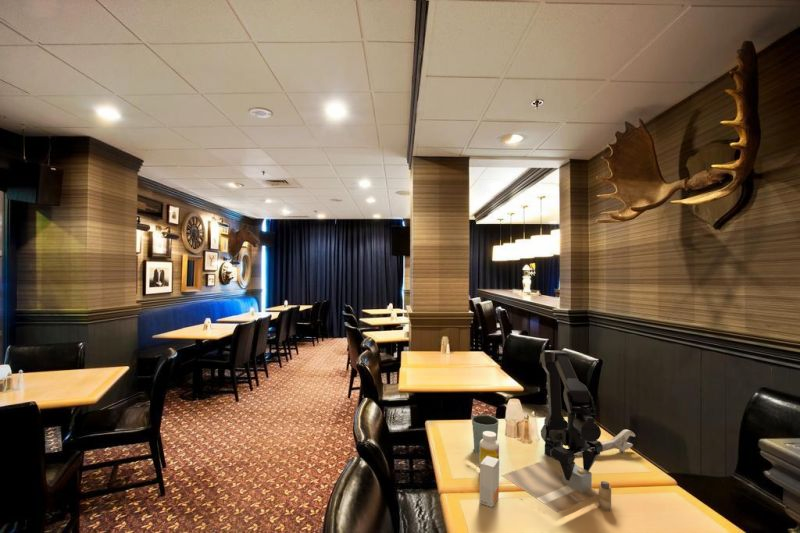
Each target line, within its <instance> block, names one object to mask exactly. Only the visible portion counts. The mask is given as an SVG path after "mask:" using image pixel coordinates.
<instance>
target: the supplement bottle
mask: <svg viewBox="0 0 800 533" xmlns="http://www.w3.org/2000/svg"><path fill="white" fill-rule="evenodd" d="M486 456H490V457H493V458H497V459H499V460H500V443H499V441H498V440H497V441H496V433H494V432H491V431H484V432H483V439H482V440H481V441H480V452H479V462H478V464H479V467H478V468H479V469H480V463H481V462H482V461H483V459H484V458H485V457H486Z"/></svg>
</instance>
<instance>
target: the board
mask: <svg viewBox="0 0 800 533" xmlns="http://www.w3.org/2000/svg"><path fill="white" fill-rule="evenodd" d="M501 477H503V478H505V479H506V480H508V481H510V482H511V483H512V484H514V485H515V486H517V487H519V488H520V489H522V490H523V492H526V493H527V494H529V495H530V496H532V497H534V498H535V499H536V500H538V501H540V502H541V503H543V504H544V505H546V506H547V507H548V508H550V509H552V510H553V511H555V512H556V513H560V512H562V511H564V510H566V509H568V508H570V507H573V506H575V505H578V504H579V503H581V502H583V501H585V500H587V499H591V498H592V497H594V496H597V495H599V490H596V489H595V488H593V487H592V489H590V490H588V491H585V492H583V493H580V492H579V491H577V490H575V489H573V488H572V487H570V486H568V485H566V484H565V483H563V482H562V470H559V469H558V468H555V467H554V466H552V465H550V464H549V463H547V462H545V461H543V460H541V461H539V462H535V463H533V464H530V465H528V466H527V465H526V466H525V467H521V468H519V469H516V470H513V471H510V472H507V473H504V474H502V475H501Z"/></svg>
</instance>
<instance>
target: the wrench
mask: <svg viewBox="0 0 800 533" xmlns="http://www.w3.org/2000/svg"><path fill="white" fill-rule="evenodd" d="M629 437H633V438H634V437H635V438H636V434H635V433H634V432H633V431H632V430H629V429H622V431H620V432H619V433H618V434H617V435H615V436H614V437H612V438H611V439H609V440H606V441H602V442H601V441H600V442H601V444H602V445H603V451H602V452H601V453H603V452H606V451H610V450H613V449H616V450H619V452H618V453H624V454H625V451H627V450H628V449H631V448H632V447H633V446H634V444H633V443H631V442H628V439H629ZM578 456H583V455H582V452H581V453H578V454H575V457H578Z"/></svg>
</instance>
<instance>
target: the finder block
mask: <svg viewBox="0 0 800 533" xmlns="http://www.w3.org/2000/svg"><path fill="white" fill-rule="evenodd" d="M561 472H562V482H563V483H565V484H566V485H568V486H570V487H572V488H573V489H575V490H577V491H579V492H580V493H583V492H585V491H588V490H590V489H592V488H593V487H592V480H593V478H592V476H593V474H592V472H590V470H589V471H587V470H585V469H584V468H583V467H581V466H579V465H577V464H575V465H574V469H573V472H572V475H571V478H570V480H569V481H568V480H566V478H565V475H564V472H563V469H562V468H561Z"/></svg>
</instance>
